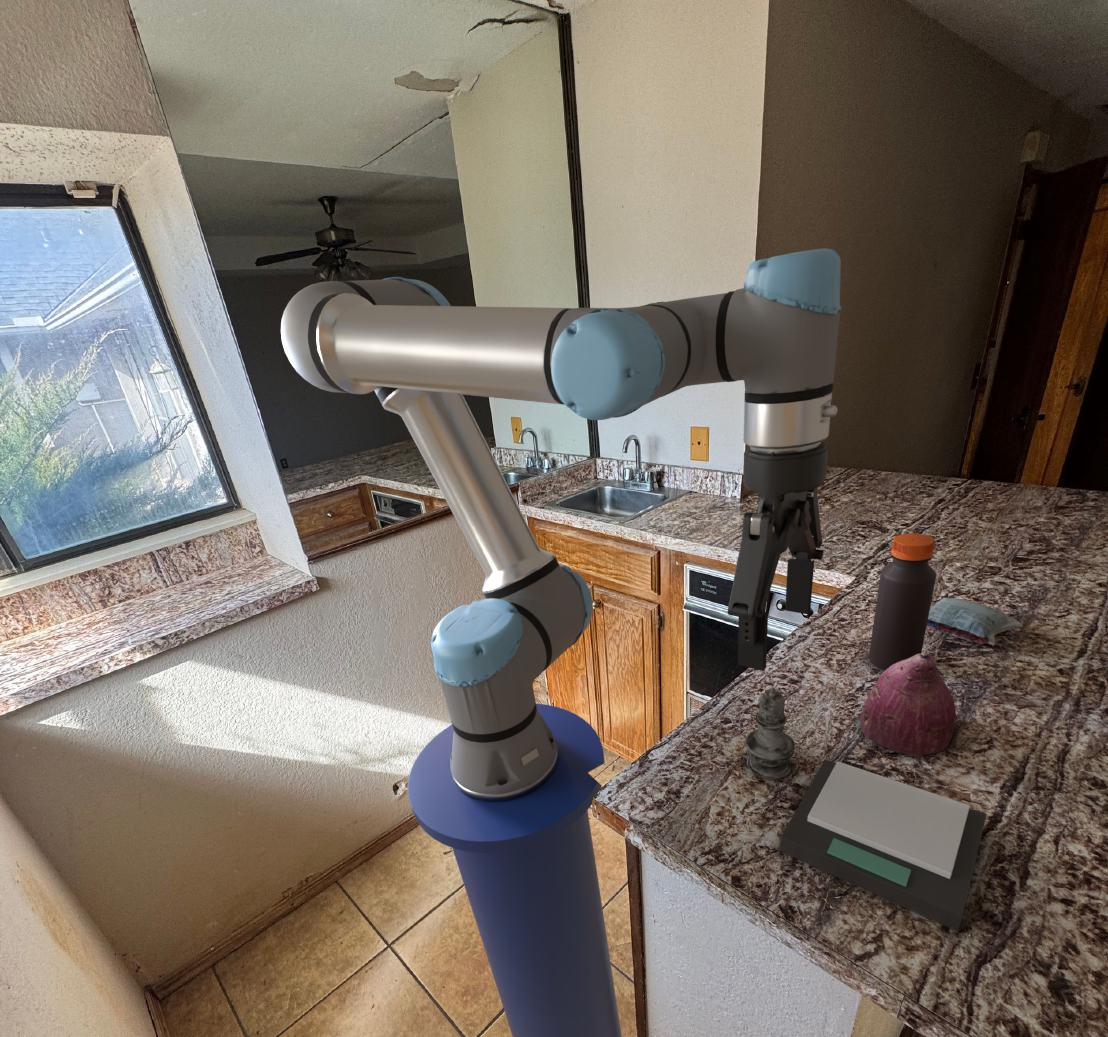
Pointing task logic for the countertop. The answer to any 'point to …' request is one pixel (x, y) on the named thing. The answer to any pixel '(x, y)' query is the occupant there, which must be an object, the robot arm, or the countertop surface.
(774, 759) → the chess piece
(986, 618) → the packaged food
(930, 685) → the vegetable
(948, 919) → the scale
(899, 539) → the bottle
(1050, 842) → the countertop surface
